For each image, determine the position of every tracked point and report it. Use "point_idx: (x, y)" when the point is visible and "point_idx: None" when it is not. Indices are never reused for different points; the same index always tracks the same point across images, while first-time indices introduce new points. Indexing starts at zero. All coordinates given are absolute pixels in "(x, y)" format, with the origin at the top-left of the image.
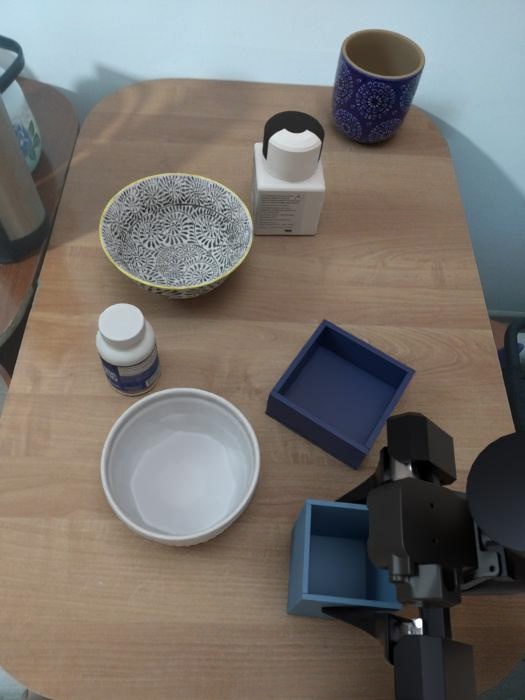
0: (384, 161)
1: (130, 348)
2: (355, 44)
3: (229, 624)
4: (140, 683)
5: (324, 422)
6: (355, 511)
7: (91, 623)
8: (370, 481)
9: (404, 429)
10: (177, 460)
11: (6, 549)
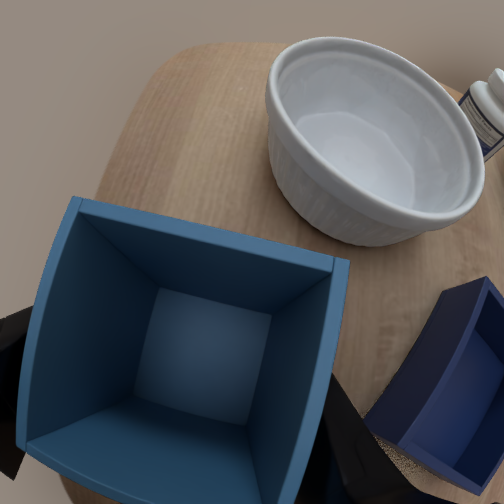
0: None
1: (493, 98)
2: None
3: (163, 201)
4: (137, 117)
5: (454, 368)
6: (293, 421)
7: (203, 82)
8: (388, 478)
9: None
10: (380, 160)
11: (280, 43)
